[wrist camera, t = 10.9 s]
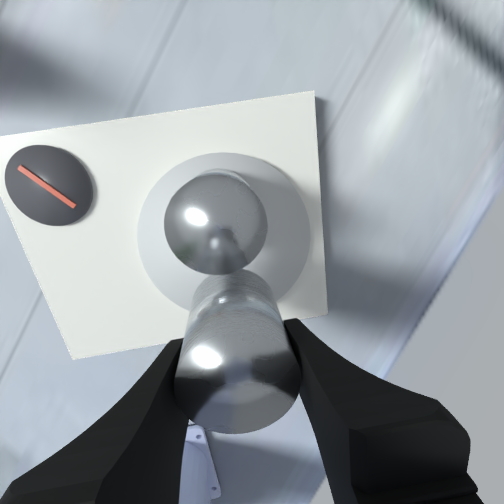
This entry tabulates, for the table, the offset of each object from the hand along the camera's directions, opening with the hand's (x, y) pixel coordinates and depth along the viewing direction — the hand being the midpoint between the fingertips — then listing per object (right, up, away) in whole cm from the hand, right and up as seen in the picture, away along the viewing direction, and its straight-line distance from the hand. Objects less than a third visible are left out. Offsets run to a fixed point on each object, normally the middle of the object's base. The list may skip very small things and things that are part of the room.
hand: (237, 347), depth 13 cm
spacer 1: (-1, +7, +5) cm, 9 cm away
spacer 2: (0, +1, +2) cm, 3 cm away
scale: (-4, +5, +7) cm, 10 cm away
